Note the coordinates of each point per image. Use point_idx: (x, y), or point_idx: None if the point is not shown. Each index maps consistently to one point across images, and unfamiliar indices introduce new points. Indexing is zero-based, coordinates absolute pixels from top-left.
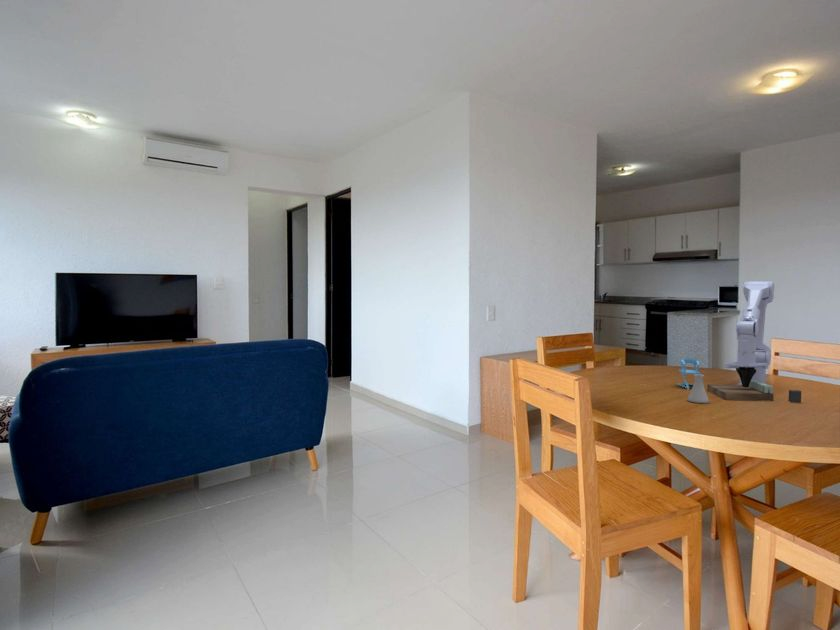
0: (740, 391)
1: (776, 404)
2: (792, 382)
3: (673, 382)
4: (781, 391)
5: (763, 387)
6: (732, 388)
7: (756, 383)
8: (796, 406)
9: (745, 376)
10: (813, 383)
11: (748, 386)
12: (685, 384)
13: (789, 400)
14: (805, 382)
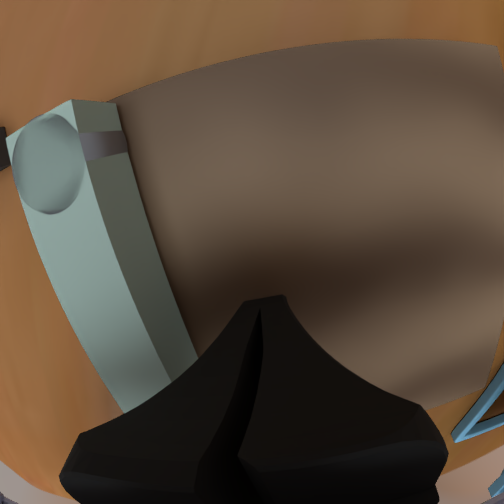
0: (362, 156)
1: (104, 6)
2: (66, 495)
3: (495, 445)
4: (60, 414)
5: (94, 142)
6: (388, 303)
7: (145, 320)
8: (15, 23)
9: (303, 371)
10: (27, 478)
11: (243, 302)
12: (497, 419)
13: (4, 154)
14: (43, 488)
